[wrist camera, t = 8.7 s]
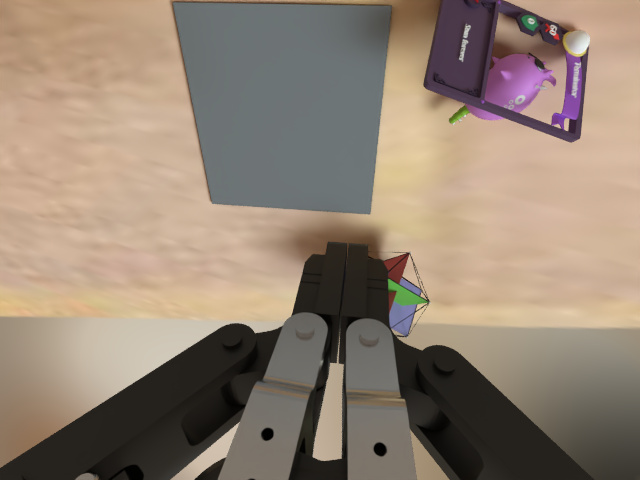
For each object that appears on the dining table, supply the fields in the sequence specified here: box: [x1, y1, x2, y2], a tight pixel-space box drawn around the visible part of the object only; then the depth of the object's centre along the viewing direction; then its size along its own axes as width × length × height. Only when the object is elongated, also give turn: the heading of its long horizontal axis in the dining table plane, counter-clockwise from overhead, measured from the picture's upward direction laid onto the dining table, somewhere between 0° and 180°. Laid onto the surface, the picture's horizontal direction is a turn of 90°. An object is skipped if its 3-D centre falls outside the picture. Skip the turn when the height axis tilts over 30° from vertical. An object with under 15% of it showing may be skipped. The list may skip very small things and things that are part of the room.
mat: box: [173, 2, 392, 214], centre depth 26 cm, size 13×14×1 cm
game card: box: [424, 0, 590, 142], centre depth 21 cm, size 7×5×9 cm
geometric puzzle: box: [368, 252, 431, 338], centre depth 29 cm, size 7×7×8 cm
